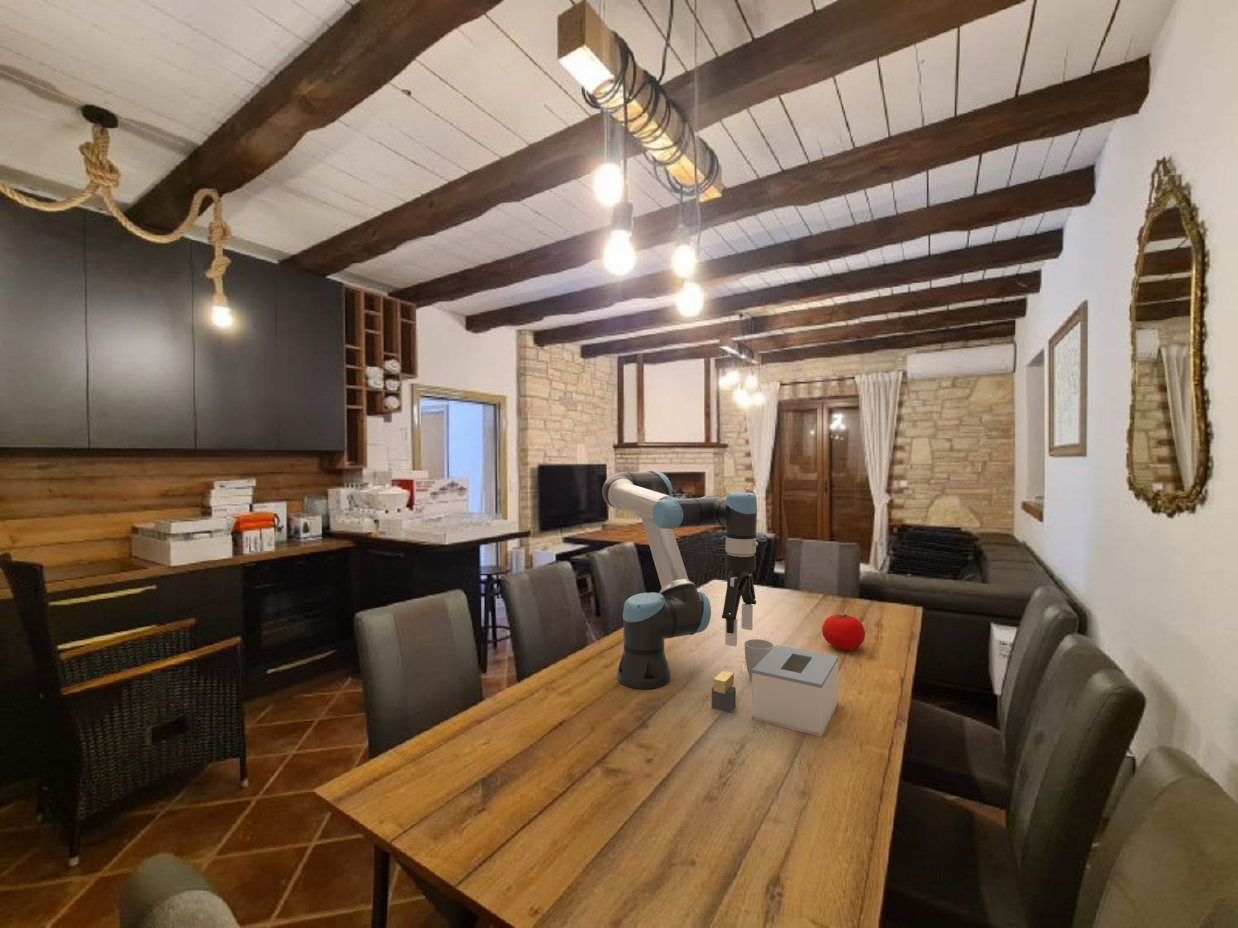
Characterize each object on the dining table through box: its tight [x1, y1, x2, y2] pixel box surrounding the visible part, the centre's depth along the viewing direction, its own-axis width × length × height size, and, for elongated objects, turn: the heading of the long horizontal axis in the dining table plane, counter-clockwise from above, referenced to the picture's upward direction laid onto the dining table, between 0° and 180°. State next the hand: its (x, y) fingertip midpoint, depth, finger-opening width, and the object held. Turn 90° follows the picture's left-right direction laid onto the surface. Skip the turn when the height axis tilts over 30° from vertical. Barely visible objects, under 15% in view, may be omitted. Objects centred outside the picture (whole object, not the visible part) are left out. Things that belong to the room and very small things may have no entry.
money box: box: [751, 644, 839, 738], centre depth 135 cm, size 16×20×12 cm
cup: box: [743, 638, 775, 681], centre depth 154 cm, size 8×8×10 cm
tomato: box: [821, 614, 866, 651], centre depth 179 cm, size 12×13×11 cm
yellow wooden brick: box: [713, 670, 735, 694], centre depth 137 cm, size 3×6×3 cm, turn 148°
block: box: [711, 686, 737, 713], centre depth 137 cm, size 5×4×5 cm
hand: (739, 636), depth 138 cm, fingers open, 13 cm apart
